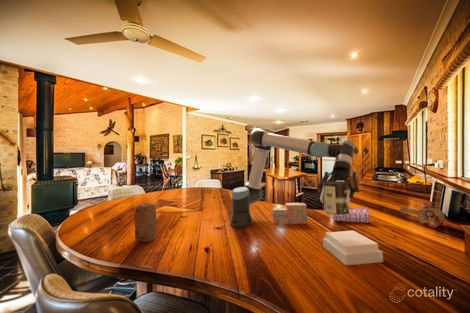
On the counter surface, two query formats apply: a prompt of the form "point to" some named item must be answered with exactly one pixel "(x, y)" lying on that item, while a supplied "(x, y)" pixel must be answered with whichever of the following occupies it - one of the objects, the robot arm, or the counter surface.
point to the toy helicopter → (426, 214)
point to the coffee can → (335, 198)
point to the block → (145, 222)
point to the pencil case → (354, 216)
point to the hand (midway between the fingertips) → (333, 202)
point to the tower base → (353, 256)
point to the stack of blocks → (290, 214)
